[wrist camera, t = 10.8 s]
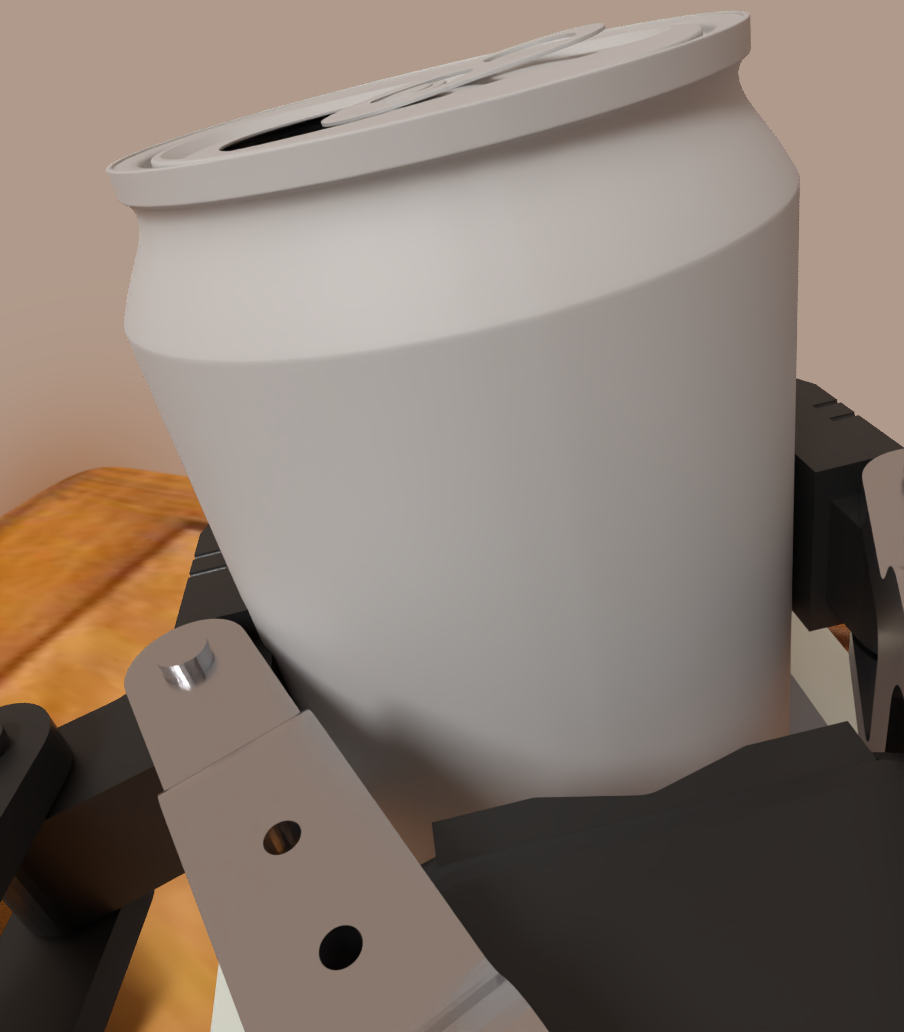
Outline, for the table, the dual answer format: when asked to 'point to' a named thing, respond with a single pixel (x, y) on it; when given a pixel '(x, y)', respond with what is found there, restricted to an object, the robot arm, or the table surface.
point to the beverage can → (495, 407)
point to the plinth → (813, 704)
